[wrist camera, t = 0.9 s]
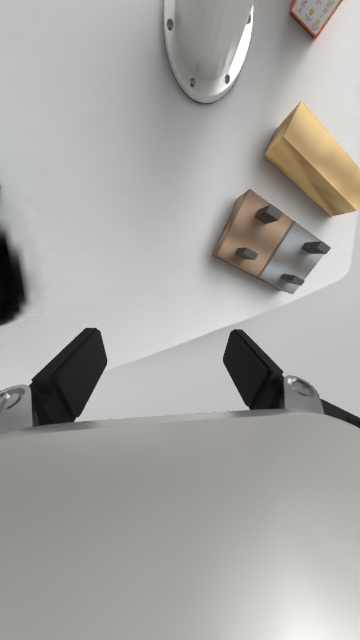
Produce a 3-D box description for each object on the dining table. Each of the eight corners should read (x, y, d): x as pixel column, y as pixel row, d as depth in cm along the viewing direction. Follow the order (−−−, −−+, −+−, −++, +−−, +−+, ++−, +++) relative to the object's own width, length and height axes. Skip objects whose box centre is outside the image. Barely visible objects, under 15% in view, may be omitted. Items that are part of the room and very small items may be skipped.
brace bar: (276, 128, 24) (301, 100, 20) (344, 197, 30) (375, 187, 26) (262, 156, 26) (283, 136, 21) (329, 216, 32) (356, 210, 27)
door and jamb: (239, 197, 28) (262, 179, 21) (312, 247, 34) (348, 246, 27) (212, 254, 32) (224, 255, 26) (281, 290, 39) (305, 298, 32)
